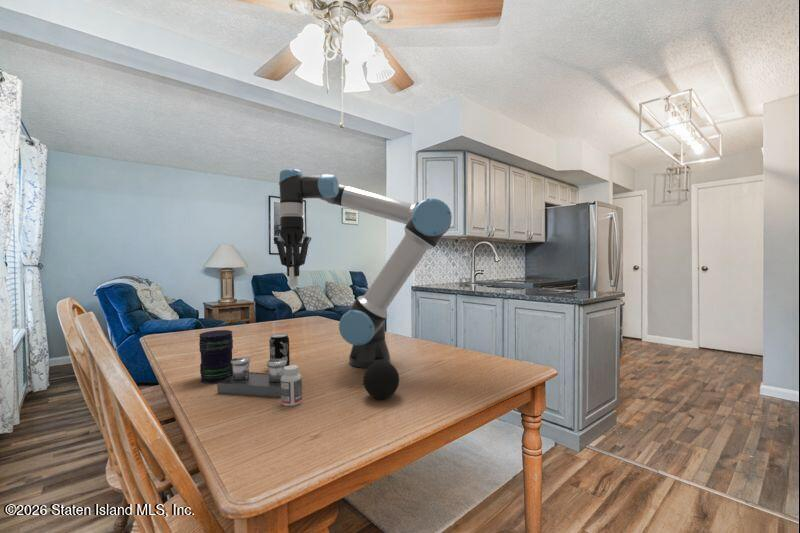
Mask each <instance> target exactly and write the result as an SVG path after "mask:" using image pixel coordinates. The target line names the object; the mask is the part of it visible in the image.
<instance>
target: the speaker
mask: <svg viewBox="0 0 800 533" xmlns="http://www.w3.org/2000/svg"><path fill="white" fill-rule="evenodd" d="M362 383H363V387H364V389H365V391H366V392H367V394H368V395H370V397H372V398H375V399H380V400H382V399H387V398H389V397H391V396H393V394H394V393H395V392H396V391H397V389H398V387H399V383H400V376H399V373H398V370H397V368H396V367H395V366H394V364H391V362H390V363H388V362H385V361H378V362H375V363H373V364H371V365H370V366H369V367H368V368H365V371H364V374H363V378H362Z"/></svg>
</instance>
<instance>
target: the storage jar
mask: <svg viewBox="0 0 800 533" xmlns="http://www.w3.org/2000/svg"><path fill="white" fill-rule="evenodd" d="M198 344H199V353H200V364H199V371H200V377H201V378H200V382H201V383H203V384H217V383H218V382H220V381H222V380H224V379H226V378H228V377H230V376H232V375H233V365H232V364H231V360H232V359H233V348H234V339H233V331H232V330H229V329H228V330H226V329H220V330H219V329H217V330H211V331H205V332H201V333H199V343H198Z"/></svg>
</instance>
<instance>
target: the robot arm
mask: <svg viewBox="0 0 800 533" xmlns="http://www.w3.org/2000/svg"><path fill="white" fill-rule="evenodd" d="M278 180H279V182H278V185H279V212H280V213H279V215H280V216H281V217H280V218H279V220H280V223H279V224H280V232H279V235H277V236H276V237H275V236H274V237H273V241H274V242H275V244H276V248H277V252H278V256H279V259H280V264H281V265H282V266H285V267H286V276H287V277H289V279H288V280H289V287H294V288H295V287H298V277H299V276H300V267H301V266H304V265H305V263H306V259H307V253H308V248H309V245H310V242H311V240H312V237H311V236H308V235H307V234H306V233H305V230H304V225H305V224H304V222H305V221H304V217H303V216H304V199H320V200H322V201H325V202H326V203H328V204H331V205H336V206H340V207H344V208H347V209H351V210H355V211H357V212H362V213H365V214H368V215H373V216H376V217H379V218H383V219H387V220H390V221H393V222H397V223H400V224H404V225H405V226H404V236H403V237H402V238H401V240H400V242H399V243H398V245H397V247H396V248H395V249H394V251H393V252H392V254H391V255H390V257H389V258H388V259H387V261H386V263H385V264H384V266H383V267H382V269H381V270H380V272H379V273H378V275H377V276H376V278H375V279H374V280H373V282H372V284H371V285H370V286H369V288H368V289H367V291H366V292H365V294H364V295H359V296H357V297H356V299H355V300H354V301H353V302H352V305H351V307H350V308H349V310H347V311H346V312H345V313H343V314H342V316H341V318H340V320H339V323H338V330H339V332H340V333H339V334H340V336H341V338H342V339H343V340H344V341H345V342H346V343H348V344H350V345H351V350H350V353H349V356H348V363H349V365H350V366H352V367H356V368H363V369H367V368H368V367H369V366H370V365H371V364H373V363H375V362H378V361H385V362H388V363H390V364H391V354H390V351H389V348H388V345H387V343H386V319H387V318H388V313H387V309H388V307H389V306H390V305H391V303H392V302H393V300H394V299H395V298H396V296H397V295H398V294H399V292H400V290H401V289H402V287H403V286H404V284H405V283H406V282H407V280H408V278H409V277H410V276H411V274H412V272H414V269H416V267H417V265H418V264H419V263H420V262H421V260H422V258H423V257H424V256H425V254H426V252H427V251H428V250H431V249H432V250H433V249H435V248H436V246H437V245H438V243H439V242H440V241H441V239H442V237H443V236H444V235H445V234H446V233H447V232H448V231H449V229H450V227H451V224H452V216H453V215H452V211H451V208H450V207H449V205H448V204H446V203H445V201H443V200H441V199H439V198H434V197H433V198H432V197H431V198H426V199H423V200H422V201H420V202H415V203H411V202H406V201H402V200H400V199H396V198H391V197H388V196H384V195H380V194H377V193H373V192H370V191H368V190H367V191H366V190H362V189H358V188H356V187H352V186H348V185H345V184H341V183H339V180H338V177H337V175H334V174H326V173H325V174H315V175H303V172H302V170H299V169H295V168H285V169H282V170H280V172H279V179H278ZM301 241H302V242H301Z"/></svg>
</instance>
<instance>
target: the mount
mask: <svg viewBox="0 0 800 533" xmlns="http://www.w3.org/2000/svg"><path fill="white" fill-rule="evenodd" d="M216 385H217V386H216V388H217V394H222V395H224V394H225V395H237V396H249V397H250V396H252V397H261V398H264V397H265V398H276V399H280V398H282V395H281V381H280V382H271V381H269V372H261V371H260V372H259V371H258V372H257V371H249V377H248V378H245V379H243V380H241V379H233V375H232V376H230V377H228V378H226V379H224V380H222V381H220V382H218V383H216Z"/></svg>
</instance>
